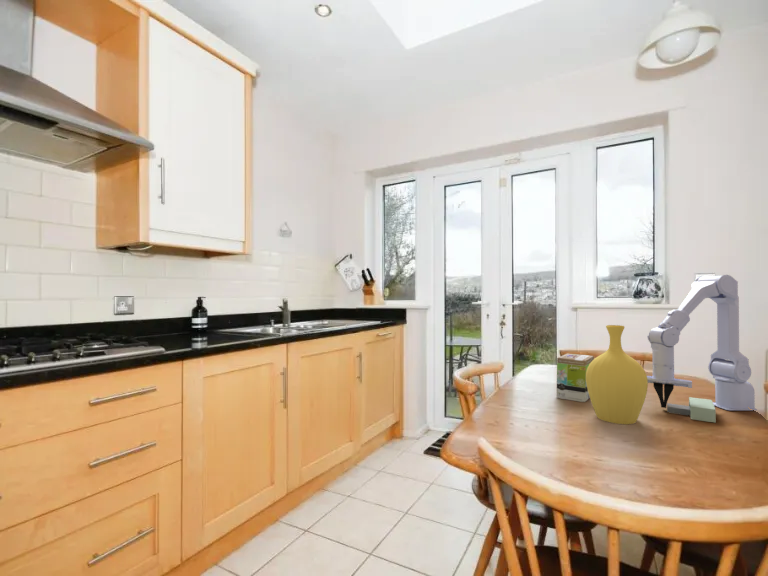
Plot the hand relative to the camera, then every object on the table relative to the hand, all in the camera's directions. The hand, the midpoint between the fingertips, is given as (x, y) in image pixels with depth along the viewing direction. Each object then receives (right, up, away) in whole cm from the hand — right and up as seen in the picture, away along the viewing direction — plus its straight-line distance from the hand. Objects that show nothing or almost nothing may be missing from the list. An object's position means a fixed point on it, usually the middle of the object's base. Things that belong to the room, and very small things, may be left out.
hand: (663, 406), depth 127 cm
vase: (-21, -1, -9) cm, 22 cm away
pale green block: (+8, -1, -6) cm, 10 cm away
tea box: (-20, -2, +17) cm, 27 cm away
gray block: (+4, -1, -2) cm, 5 cm away
